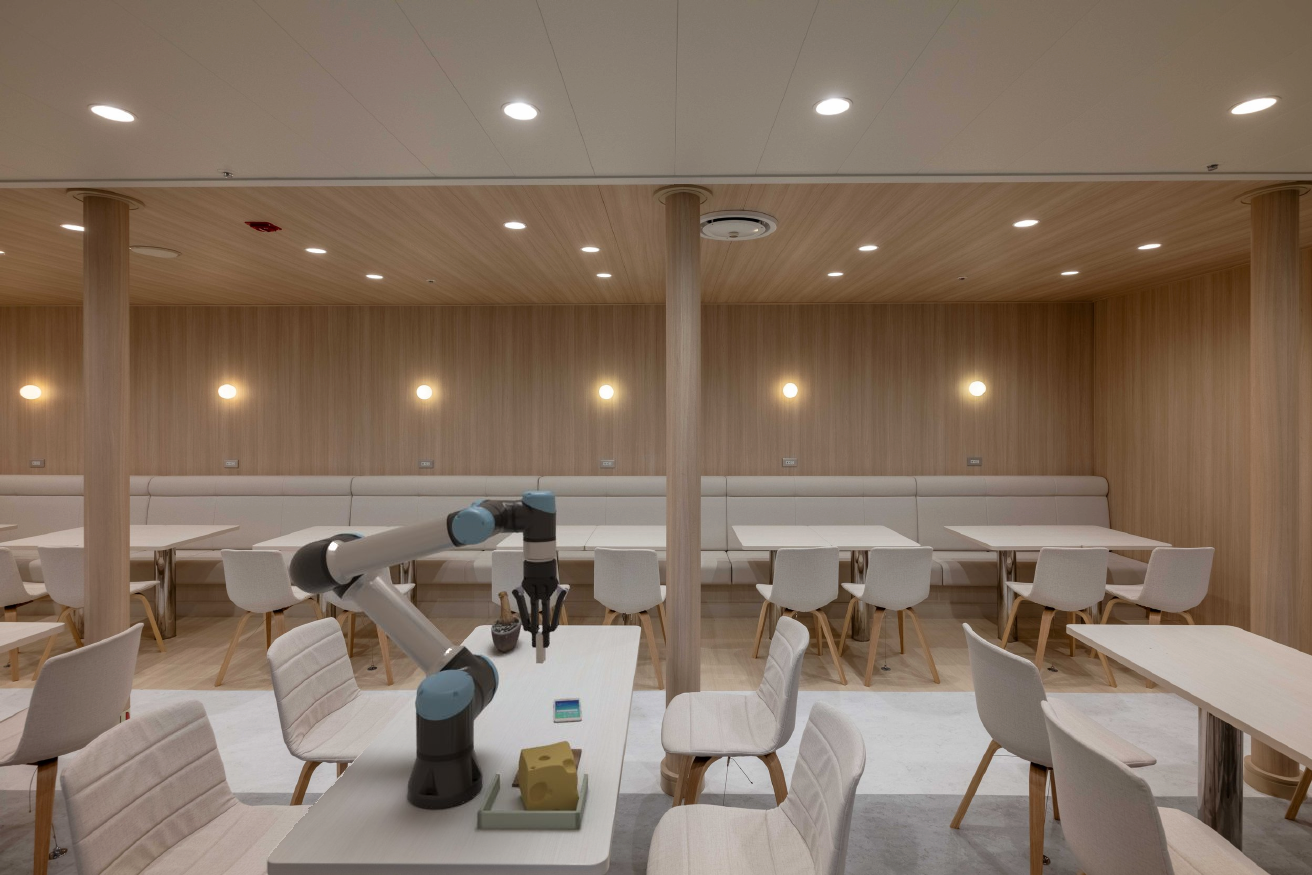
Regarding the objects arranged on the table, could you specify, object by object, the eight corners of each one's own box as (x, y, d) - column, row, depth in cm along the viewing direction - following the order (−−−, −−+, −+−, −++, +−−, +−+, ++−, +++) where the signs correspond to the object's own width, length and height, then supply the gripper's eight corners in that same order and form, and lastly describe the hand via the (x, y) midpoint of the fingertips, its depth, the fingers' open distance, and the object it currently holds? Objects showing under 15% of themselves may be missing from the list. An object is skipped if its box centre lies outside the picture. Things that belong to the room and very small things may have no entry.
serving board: (572, 786, 144) (572, 783, 144) (512, 786, 144) (512, 783, 144) (581, 751, 160) (581, 748, 160) (526, 751, 160) (526, 748, 160)
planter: (514, 638, 248) (514, 584, 248) (537, 649, 235) (536, 592, 235) (476, 646, 239) (476, 590, 239) (497, 658, 226) (497, 599, 226)
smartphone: (553, 721, 176) (553, 698, 191) (553, 724, 176) (553, 701, 191) (582, 719, 177) (580, 697, 192) (582, 722, 177) (580, 700, 192)
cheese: (579, 811, 135) (579, 761, 135) (525, 821, 131) (525, 770, 131) (568, 785, 145) (568, 739, 145) (517, 794, 141) (517, 746, 141)
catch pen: (579, 828, 129) (579, 812, 129) (477, 828, 129) (477, 812, 129) (588, 787, 144) (588, 773, 144) (496, 787, 144) (496, 773, 144)
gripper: (571, 555, 158) (572, 656, 158) (517, 555, 159) (518, 655, 159) (564, 561, 150) (565, 667, 150) (507, 561, 151) (508, 666, 152)
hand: (541, 661), depth 155 cm, fingers closed
